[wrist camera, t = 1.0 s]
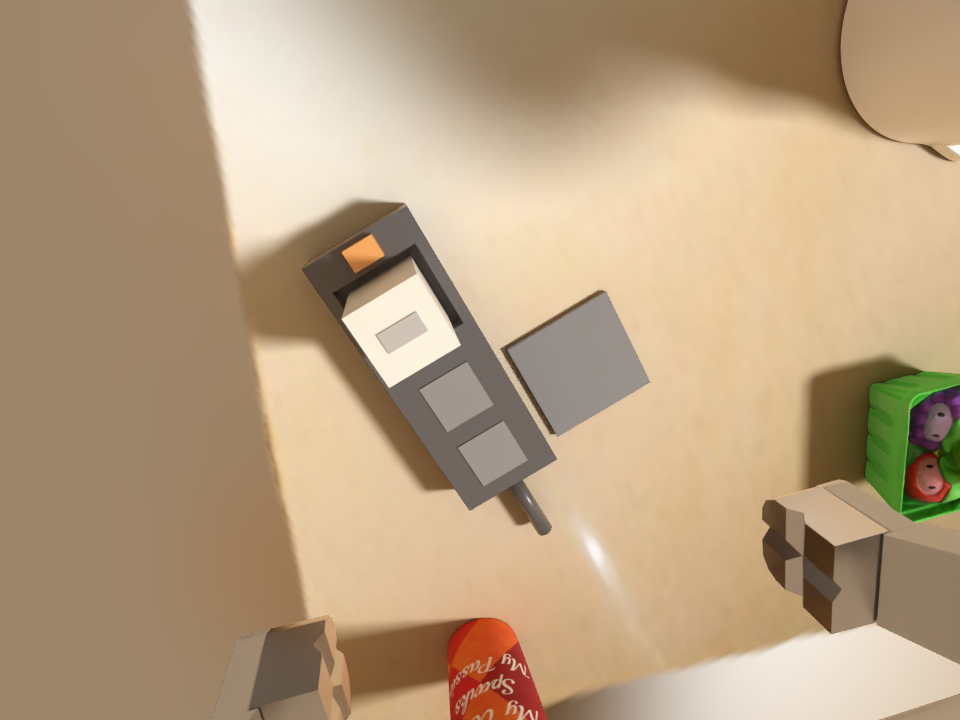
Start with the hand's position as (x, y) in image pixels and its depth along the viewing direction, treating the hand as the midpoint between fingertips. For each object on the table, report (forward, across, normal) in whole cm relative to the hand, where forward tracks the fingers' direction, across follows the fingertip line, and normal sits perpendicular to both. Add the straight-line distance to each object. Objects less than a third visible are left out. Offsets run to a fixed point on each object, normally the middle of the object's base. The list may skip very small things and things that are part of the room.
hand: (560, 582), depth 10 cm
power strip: (+30, -1, +8) cm, 31 cm away
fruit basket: (+29, -37, +19) cm, 51 cm away
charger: (+28, +2, 0) cm, 28 cm away
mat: (+29, -10, +7) cm, 32 cm away
